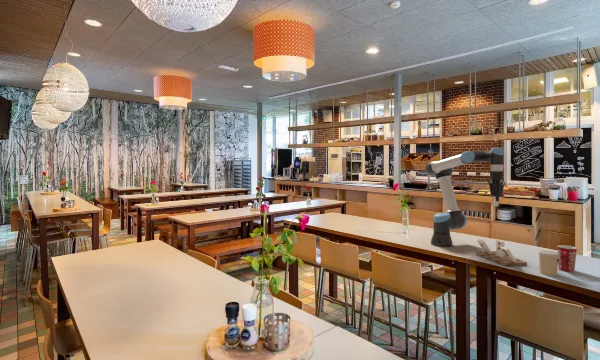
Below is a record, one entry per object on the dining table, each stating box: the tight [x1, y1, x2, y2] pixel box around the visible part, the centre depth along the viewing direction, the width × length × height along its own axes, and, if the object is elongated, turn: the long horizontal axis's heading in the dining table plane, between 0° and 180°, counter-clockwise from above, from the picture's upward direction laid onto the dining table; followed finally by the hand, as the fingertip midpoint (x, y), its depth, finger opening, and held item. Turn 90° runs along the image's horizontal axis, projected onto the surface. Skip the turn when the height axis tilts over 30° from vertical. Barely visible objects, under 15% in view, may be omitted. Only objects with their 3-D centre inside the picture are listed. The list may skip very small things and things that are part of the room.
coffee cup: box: [538, 249, 559, 277], centre depth 191 cm, size 9×9×12 cm
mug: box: [556, 244, 578, 273], centre depth 195 cm, size 13×9×14 cm
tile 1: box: [476, 238, 492, 253], centre depth 226 cm, size 5×2×10 cm
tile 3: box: [500, 246, 517, 262], centre depth 206 cm, size 5×2×10 cm
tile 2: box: [495, 239, 505, 258], centre depth 217 cm, size 5×2×10 cm, turn 11°
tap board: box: [475, 250, 528, 268], centre depth 217 cm, size 26×14×2 cm, turn 11°
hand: (495, 205), depth 231 cm, fingers closed
